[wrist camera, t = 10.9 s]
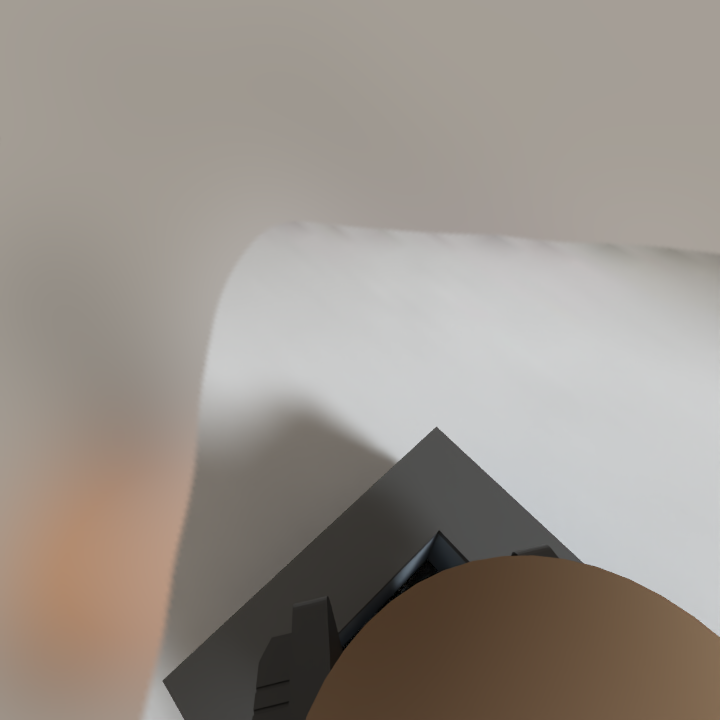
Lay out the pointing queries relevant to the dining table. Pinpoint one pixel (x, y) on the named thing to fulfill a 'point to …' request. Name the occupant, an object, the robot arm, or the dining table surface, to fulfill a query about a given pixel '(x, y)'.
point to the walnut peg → (526, 650)
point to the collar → (363, 567)
